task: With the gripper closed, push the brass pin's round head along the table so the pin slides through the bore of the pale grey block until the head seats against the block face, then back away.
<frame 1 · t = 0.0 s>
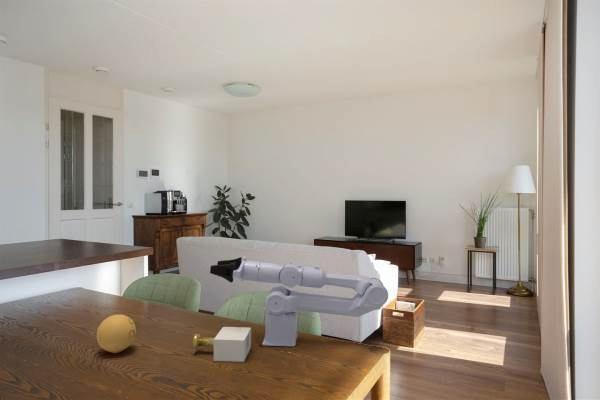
hand: (214, 266, 121), 22 cm above the table, tool horizontal, fingers open, 7 cm apart
pin: (217, 342, 111), point 3 cm above the table, slide at 0.0 cm
stress ball: (116, 352, 111), on the table
block: (233, 353, 111), on the table
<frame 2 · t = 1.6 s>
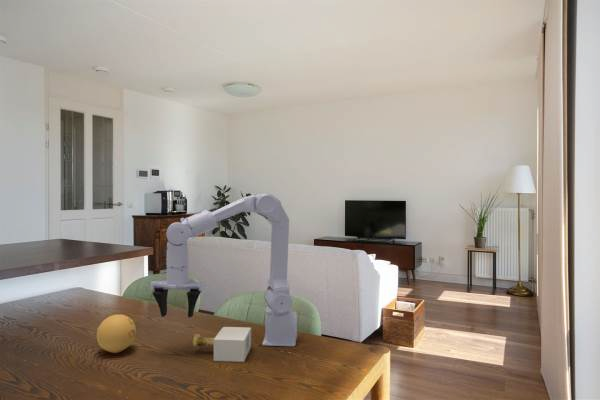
hand: (177, 315, 111), 10 cm above the table, tool pointing down, fingers open, 7 cm apart
nothing on the table moved.
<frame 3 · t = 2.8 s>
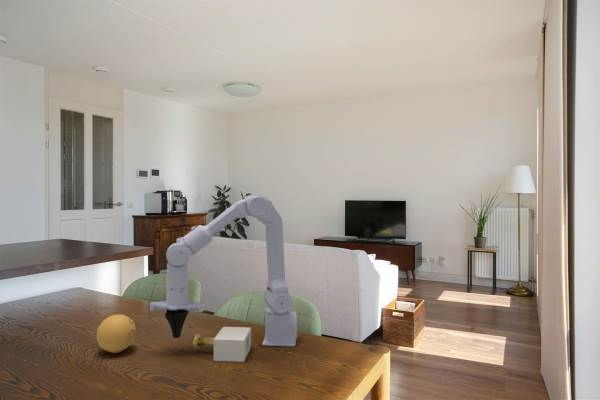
hand: (177, 336, 111), 4 cm above the table, tool pointing down, fingers closed
nothing on the table moved.
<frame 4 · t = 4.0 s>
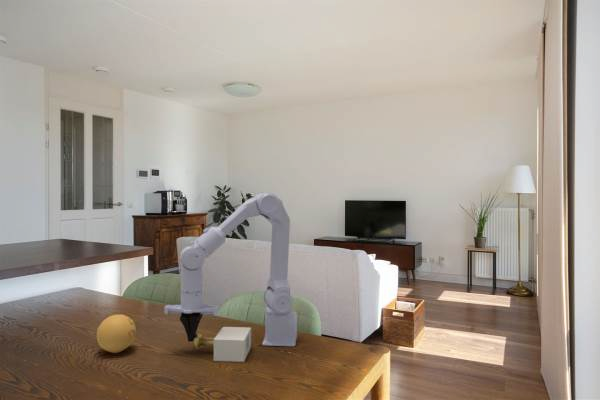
hand: (191, 340, 111), 3 cm above the table, tool pointing down, fingers closed
pin: (218, 342, 111), point 3 cm above the table, slide at 0.3 cm, touching gripper
everything else where it was.
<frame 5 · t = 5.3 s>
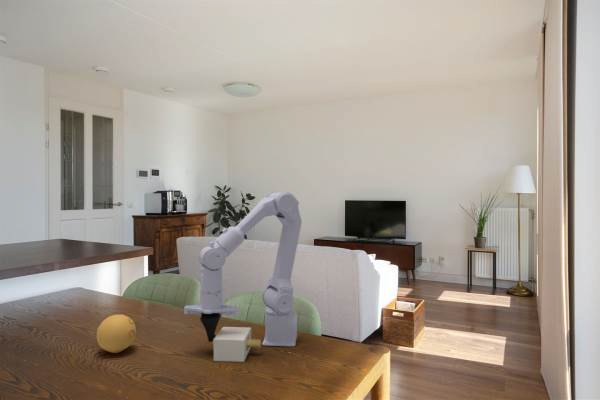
hand: (211, 340, 111), 3 cm above the table, tool pointing down, fingers closed
pin: (237, 342, 110), point 3 cm above the table, slide at 5.5 cm, touching block, gripper
everything else where it was.
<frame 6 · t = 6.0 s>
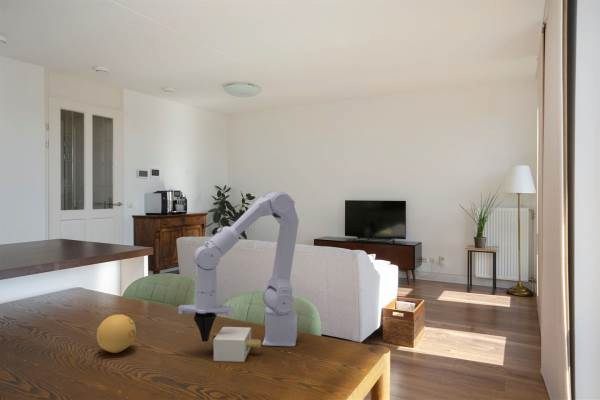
hand: (205, 340, 111), 3 cm above the table, tool pointing down, fingers closed
pin: (237, 342, 110), point 3 cm above the table, slide at 5.5 cm, touching block
everything else where it was.
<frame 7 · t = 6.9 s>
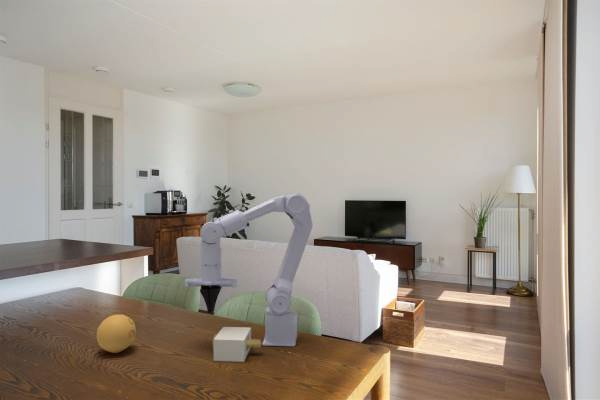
hand: (211, 311, 116), 10 cm above the table, tool pointing down, fingers closed
nothing on the table moved.
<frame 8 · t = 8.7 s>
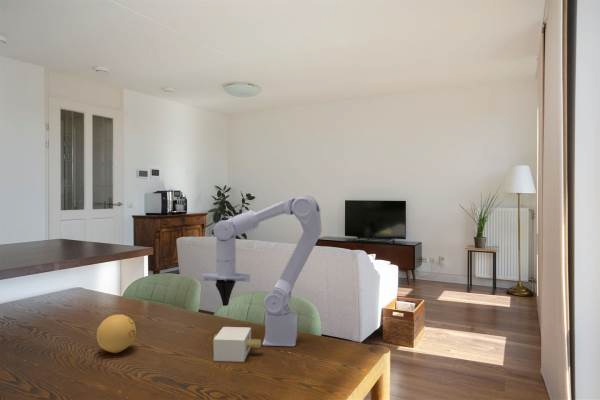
hand: (225, 304, 123), 10 cm above the table, tool pointing down, fingers closed
nothing on the table moved.
at the end: pin slide at 5.5 cm; pin touching block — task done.
